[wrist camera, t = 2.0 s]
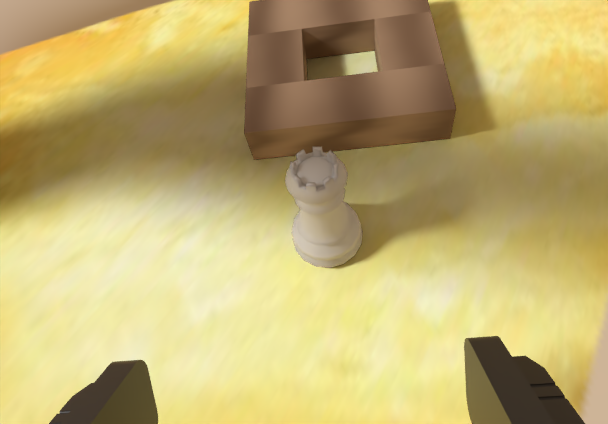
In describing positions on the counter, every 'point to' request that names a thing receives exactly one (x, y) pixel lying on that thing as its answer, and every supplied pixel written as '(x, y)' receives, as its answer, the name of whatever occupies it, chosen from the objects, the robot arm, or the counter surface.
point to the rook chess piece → (322, 209)
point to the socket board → (343, 77)
